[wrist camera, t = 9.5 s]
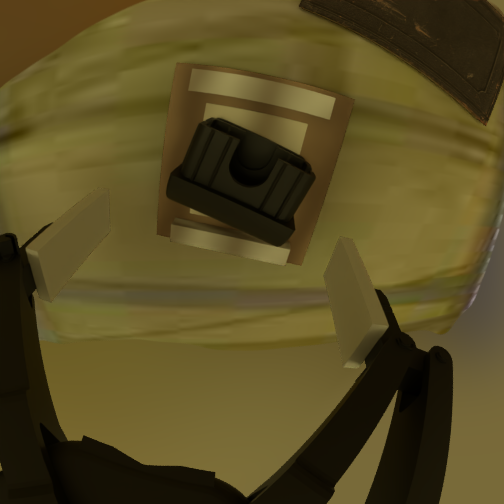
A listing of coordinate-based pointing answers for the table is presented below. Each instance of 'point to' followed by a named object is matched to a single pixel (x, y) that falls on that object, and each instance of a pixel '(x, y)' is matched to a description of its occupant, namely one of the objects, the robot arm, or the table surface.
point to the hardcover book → (433, 41)
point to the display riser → (264, 124)
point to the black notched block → (242, 180)
